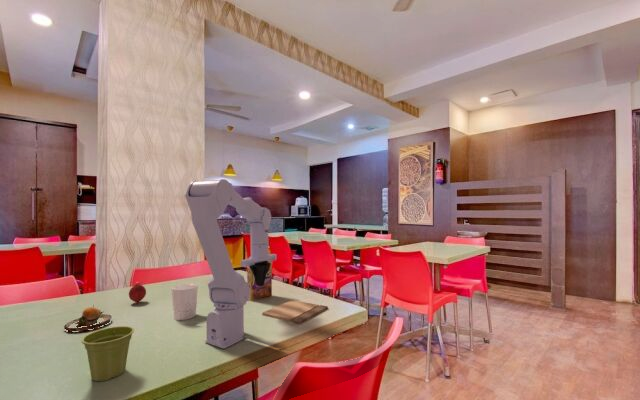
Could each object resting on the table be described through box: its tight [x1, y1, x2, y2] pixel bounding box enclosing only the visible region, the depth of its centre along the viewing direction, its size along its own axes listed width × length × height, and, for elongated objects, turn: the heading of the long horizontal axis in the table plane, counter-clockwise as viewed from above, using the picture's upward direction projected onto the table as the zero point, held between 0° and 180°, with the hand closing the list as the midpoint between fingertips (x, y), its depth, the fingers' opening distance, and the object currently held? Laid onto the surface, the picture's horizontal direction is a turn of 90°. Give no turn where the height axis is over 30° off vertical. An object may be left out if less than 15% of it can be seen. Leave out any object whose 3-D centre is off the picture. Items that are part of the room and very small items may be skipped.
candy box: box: [246, 260, 273, 302], centre depth 118 cm, size 9×4×15 cm, turn 123°
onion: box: [128, 281, 147, 303], centre depth 118 cm, size 6×6×8 cm
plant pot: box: [81, 325, 135, 382], centre depth 66 cm, size 9×9×9 cm
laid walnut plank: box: [291, 304, 329, 325], centre depth 98 cm, size 16×3×2 cm, turn 147°
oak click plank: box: [261, 299, 320, 323], centre depth 102 cm, size 16×12×2 cm
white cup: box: [171, 283, 198, 321], centre depth 101 cm, size 8×8×10 cm
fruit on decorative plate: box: [63, 305, 112, 332], centre depth 95 cm, size 12×12×8 cm
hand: (260, 285), depth 99 cm, fingers closed
